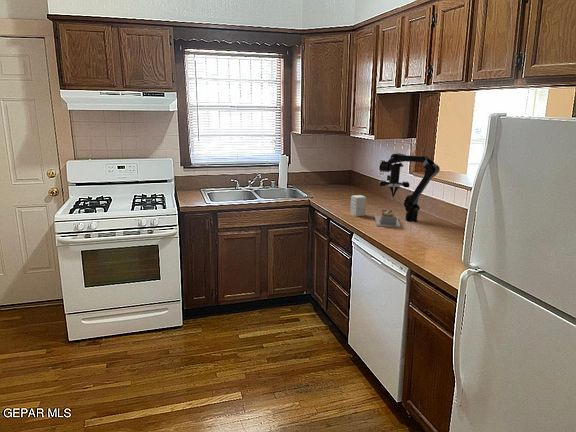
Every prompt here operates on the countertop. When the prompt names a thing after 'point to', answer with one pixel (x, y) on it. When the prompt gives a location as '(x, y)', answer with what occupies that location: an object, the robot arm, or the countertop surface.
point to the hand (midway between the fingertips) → (392, 196)
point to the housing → (388, 213)
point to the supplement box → (358, 205)
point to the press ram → (386, 211)
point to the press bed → (387, 221)
